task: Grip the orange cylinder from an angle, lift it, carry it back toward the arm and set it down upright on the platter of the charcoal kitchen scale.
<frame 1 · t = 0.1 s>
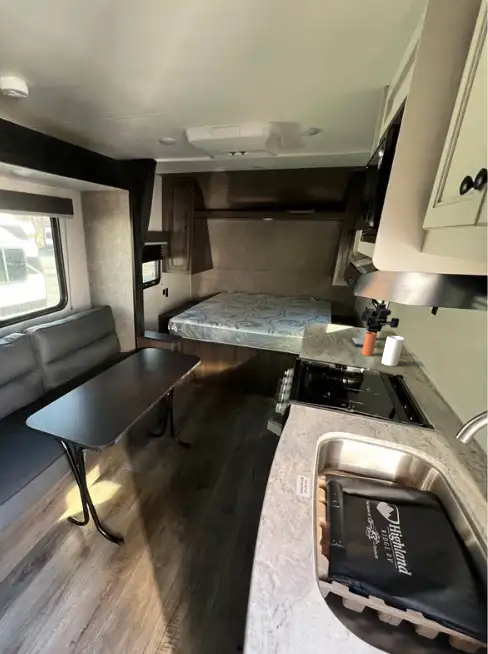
hand: (386, 325, 213), 17 cm above the worktop, tool horizontal, fingers open, 9 cm apart
cup: (389, 363, 195), on the worktop
orange cylinder: (367, 354, 210), on the worktop
scale: (361, 344, 230), on the worktop
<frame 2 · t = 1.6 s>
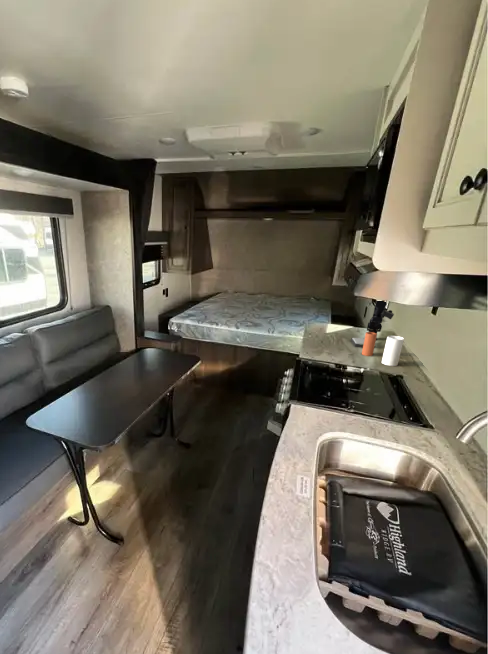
hand: (375, 330, 215), 13 cm above the worktop, tool pointing down, fingers open, 9 cm apart
nothing on the worktop moved.
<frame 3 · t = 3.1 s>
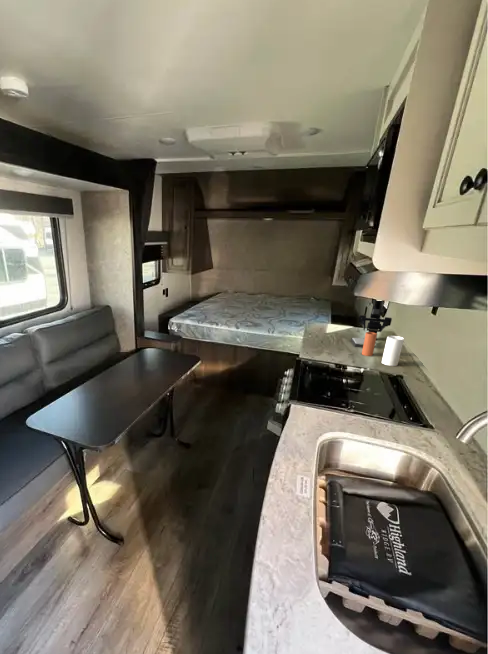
hand: (372, 331, 211), 13 cm above the worktop, tool tilted 45°, fingers open, 9 cm apart
nothing on the worktop moved.
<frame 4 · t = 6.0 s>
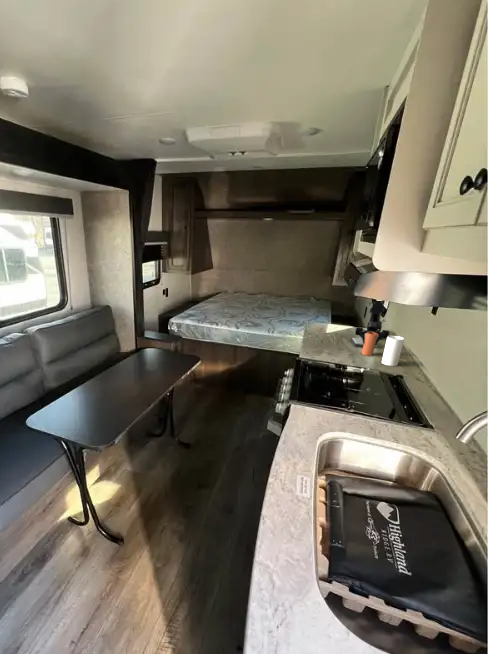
hand: (369, 344, 206), 7 cm above the worktop, tool tilted 45°, fingers closed on orange cylinder, 6 cm apart
orange cylinder: (366, 354, 210), on the worktop, touching gripper
everything else where it was.
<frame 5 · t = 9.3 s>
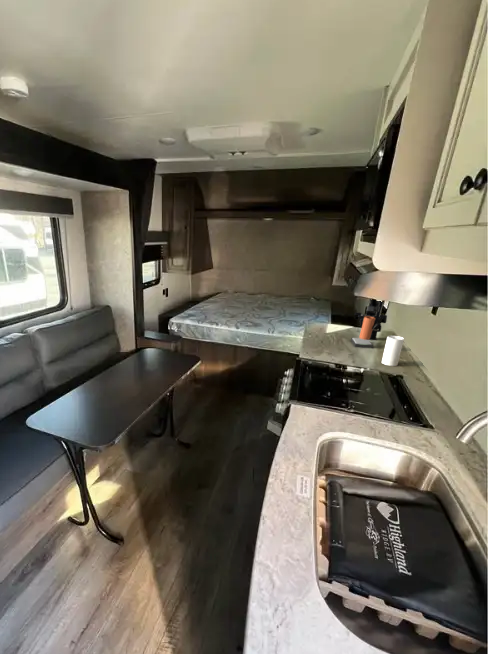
hand: (366, 328, 212), 15 cm above the worktop, tool tilted 45°, fingers closed on orange cylinder, 6 cm apart
orange cylinder: (364, 338, 216), point 8 cm above the worktop, touching gripper
everything else where it was.
when the fingers open (10 cm above the worktop, at t = 12.4 s): orange cylinder stays where it is, resting on scale.
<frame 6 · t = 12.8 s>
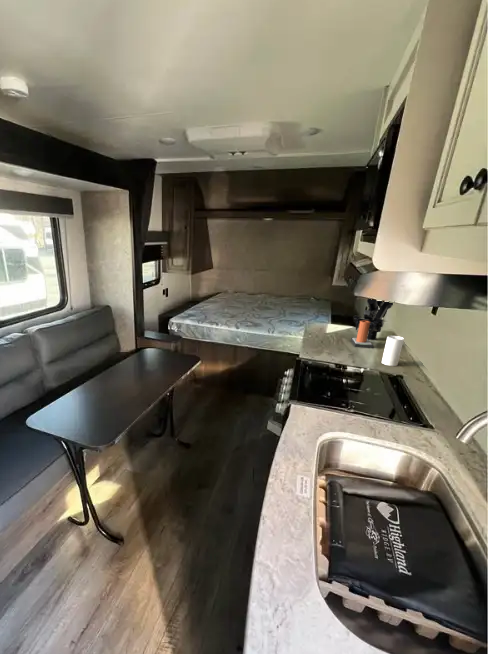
hand: (363, 331, 223), 10 cm above the worktop, tool tilted 45°, fingers open, 9 cm apart
orange cylinder: (361, 341, 228), point 3 cm above the worktop, touching scale
everything else where it was.
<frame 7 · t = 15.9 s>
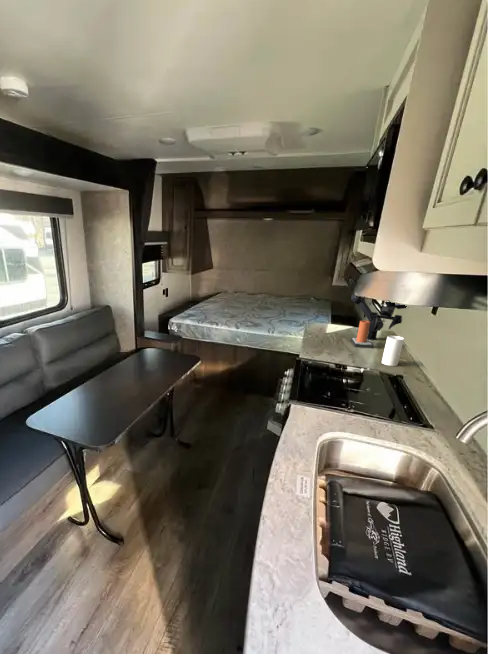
hand: (381, 327, 221), 13 cm above the worktop, tool tilted 45°, fingers open, 9 cm apart
nothing on the worktop moved.
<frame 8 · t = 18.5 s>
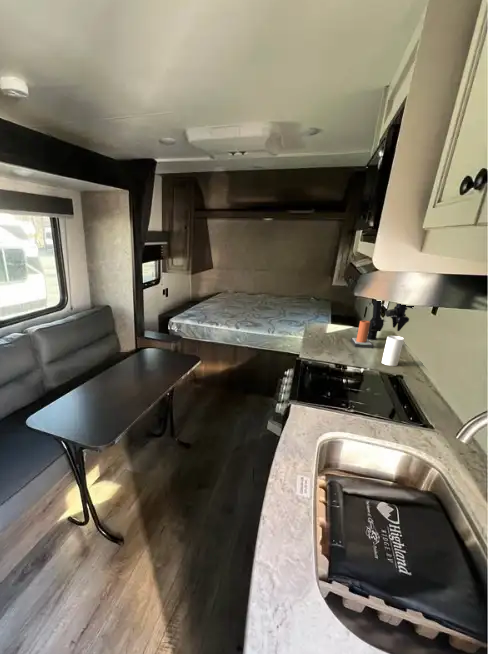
hand: (396, 329, 217), 13 cm above the worktop, tool pointing down, fingers open, 9 cm apart
nothing on the worktop moved.
at the end: orange cylinder inside the target area on the scale (1.7 cm from its centre), point 2.6 cm above the scale's base; orange cylinder tilted 0°; the gripper is holding nothing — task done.
